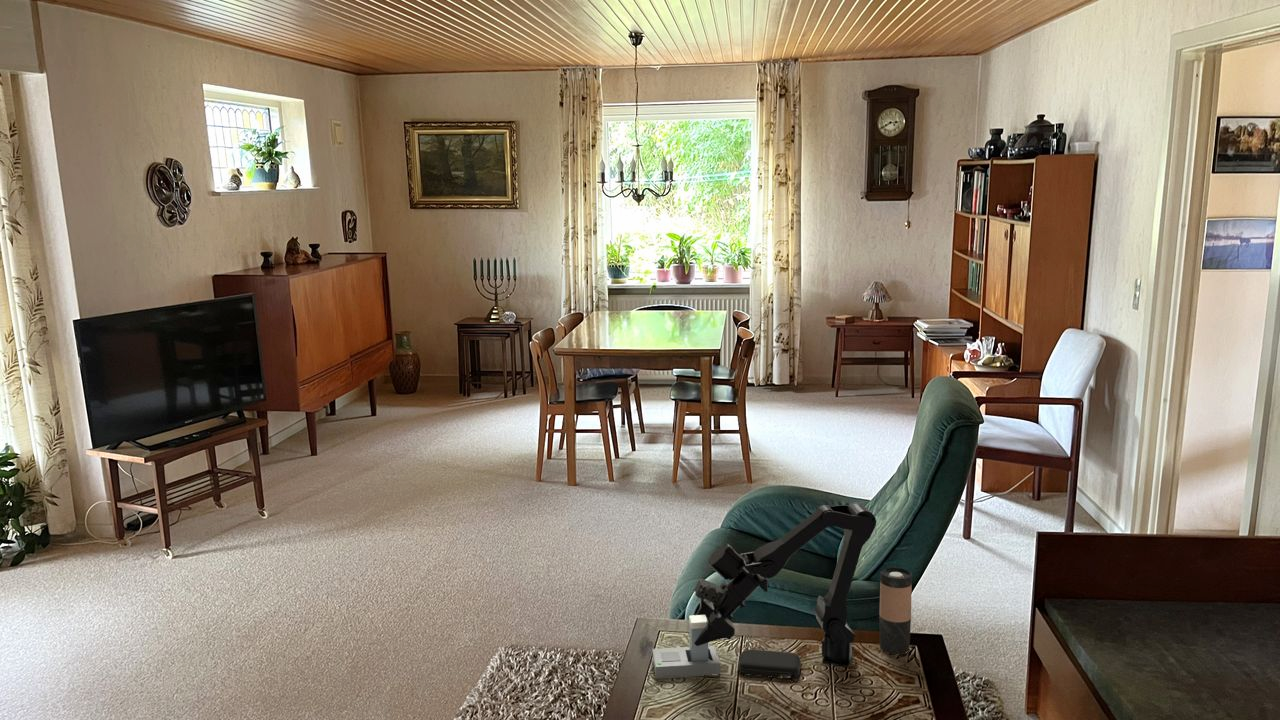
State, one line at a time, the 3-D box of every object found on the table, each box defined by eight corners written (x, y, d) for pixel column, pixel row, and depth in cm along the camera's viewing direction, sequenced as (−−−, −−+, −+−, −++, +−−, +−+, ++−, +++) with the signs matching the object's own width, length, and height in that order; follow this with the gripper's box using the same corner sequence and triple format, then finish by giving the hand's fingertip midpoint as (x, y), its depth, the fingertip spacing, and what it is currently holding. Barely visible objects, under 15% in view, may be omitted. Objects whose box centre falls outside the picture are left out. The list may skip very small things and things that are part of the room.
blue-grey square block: (705, 662, 217) (705, 614, 215) (708, 670, 213) (707, 621, 211) (689, 663, 217) (689, 615, 215) (692, 671, 213) (691, 622, 211)
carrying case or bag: (736, 679, 209) (799, 684, 206) (736, 667, 209) (799, 672, 206) (741, 657, 220) (801, 662, 216) (741, 646, 219) (801, 651, 216)
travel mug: (914, 655, 218) (916, 578, 215) (883, 655, 218) (884, 579, 215) (905, 640, 226) (907, 566, 223) (875, 641, 226) (876, 567, 223)
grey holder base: (714, 656, 219) (714, 645, 219) (720, 675, 211) (720, 663, 210) (652, 660, 218) (652, 648, 218) (656, 678, 210) (655, 666, 209)
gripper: (708, 555, 220) (665, 599, 221) (720, 585, 202) (673, 632, 203) (739, 583, 222) (697, 626, 223) (754, 615, 204) (707, 662, 205)
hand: (693, 636), depth 213 cm, fingers open, 8 cm apart
